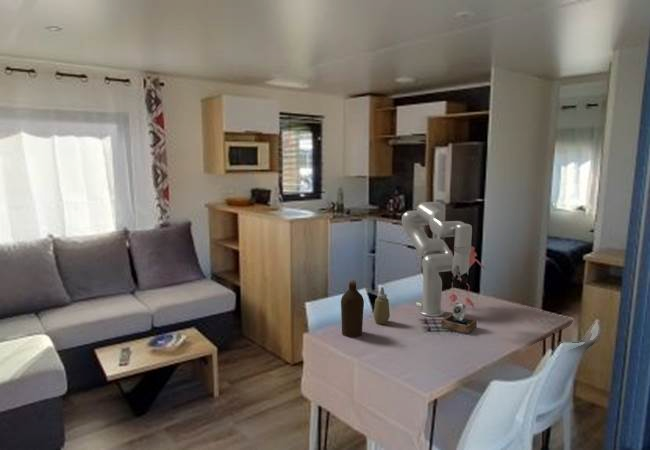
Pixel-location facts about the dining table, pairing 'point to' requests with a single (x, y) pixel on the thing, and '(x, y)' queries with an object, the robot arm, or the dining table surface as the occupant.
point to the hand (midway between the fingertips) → (460, 285)
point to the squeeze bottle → (381, 308)
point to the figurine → (453, 296)
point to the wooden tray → (459, 325)
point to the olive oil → (352, 311)
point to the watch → (459, 314)
